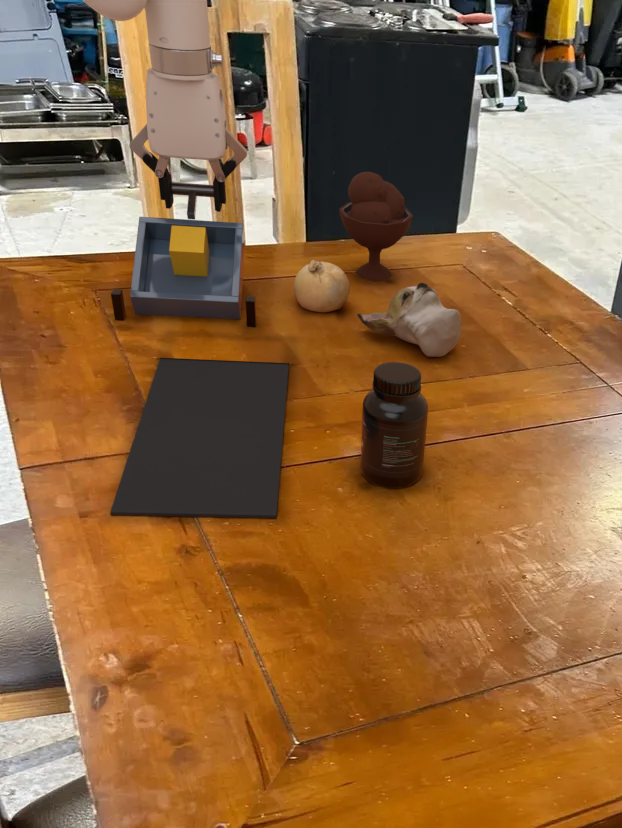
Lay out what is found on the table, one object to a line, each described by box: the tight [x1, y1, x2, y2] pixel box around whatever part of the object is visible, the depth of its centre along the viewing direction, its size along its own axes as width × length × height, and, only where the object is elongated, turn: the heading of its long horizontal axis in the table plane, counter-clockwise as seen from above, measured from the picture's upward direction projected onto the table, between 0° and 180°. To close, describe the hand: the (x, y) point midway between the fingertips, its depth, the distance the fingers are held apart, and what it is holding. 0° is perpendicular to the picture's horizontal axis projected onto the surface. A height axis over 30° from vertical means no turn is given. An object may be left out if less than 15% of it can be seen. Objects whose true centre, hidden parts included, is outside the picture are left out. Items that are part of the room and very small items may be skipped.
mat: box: [109, 357, 290, 519], centre depth 103 cm, size 16×42×1 cm, turn 6°
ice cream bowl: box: [339, 171, 414, 282], centre depth 135 cm, size 11×11×15 cm
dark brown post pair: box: [110, 288, 258, 328], centre depth 119 cm, size 2×18×4 cm, turn 96°
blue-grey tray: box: [129, 181, 246, 320], centre depth 122 cm, size 20×14×5 cm
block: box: [169, 225, 209, 277], centre depth 122 cm, size 4×4×4 cm
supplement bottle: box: [360, 361, 429, 489], centre depth 93 cm, size 7×7×12 cm
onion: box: [293, 259, 351, 313], centre depth 126 cm, size 8×8×7 cm
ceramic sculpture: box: [356, 282, 463, 358], centre depth 120 cm, size 11×9×15 cm
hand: (194, 205), depth 125 cm, fingers closed on blue-grey tray, 6 cm apart
